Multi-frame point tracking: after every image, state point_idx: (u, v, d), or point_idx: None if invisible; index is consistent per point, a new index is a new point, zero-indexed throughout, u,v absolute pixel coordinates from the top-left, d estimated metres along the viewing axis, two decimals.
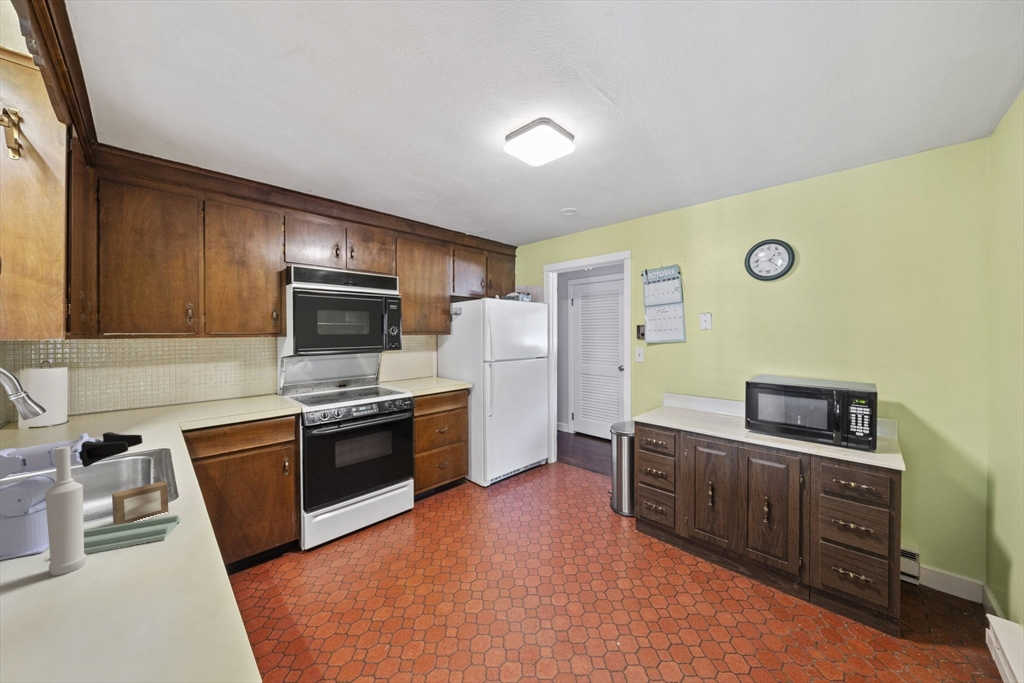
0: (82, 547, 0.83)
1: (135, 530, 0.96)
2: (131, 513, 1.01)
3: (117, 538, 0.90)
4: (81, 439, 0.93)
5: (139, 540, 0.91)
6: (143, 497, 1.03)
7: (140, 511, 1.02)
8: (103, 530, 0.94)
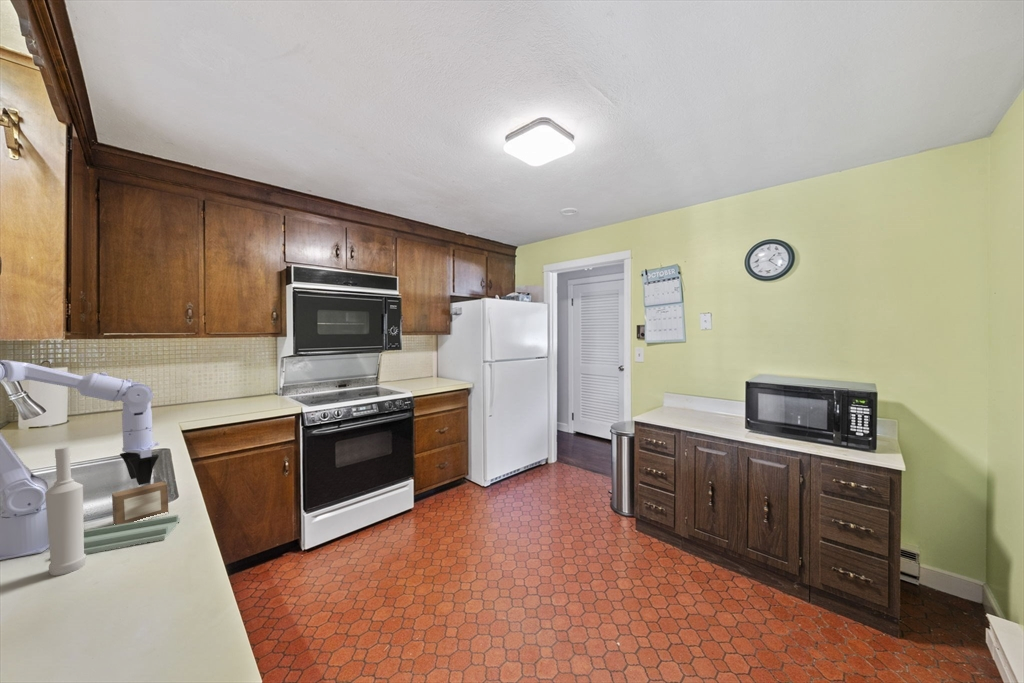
0: (82, 547, 0.83)
1: (135, 530, 0.96)
2: (131, 513, 1.01)
3: (117, 538, 0.90)
4: (154, 445, 1.05)
5: (139, 540, 0.91)
6: (143, 497, 1.03)
7: (140, 511, 1.02)
8: (103, 530, 0.94)
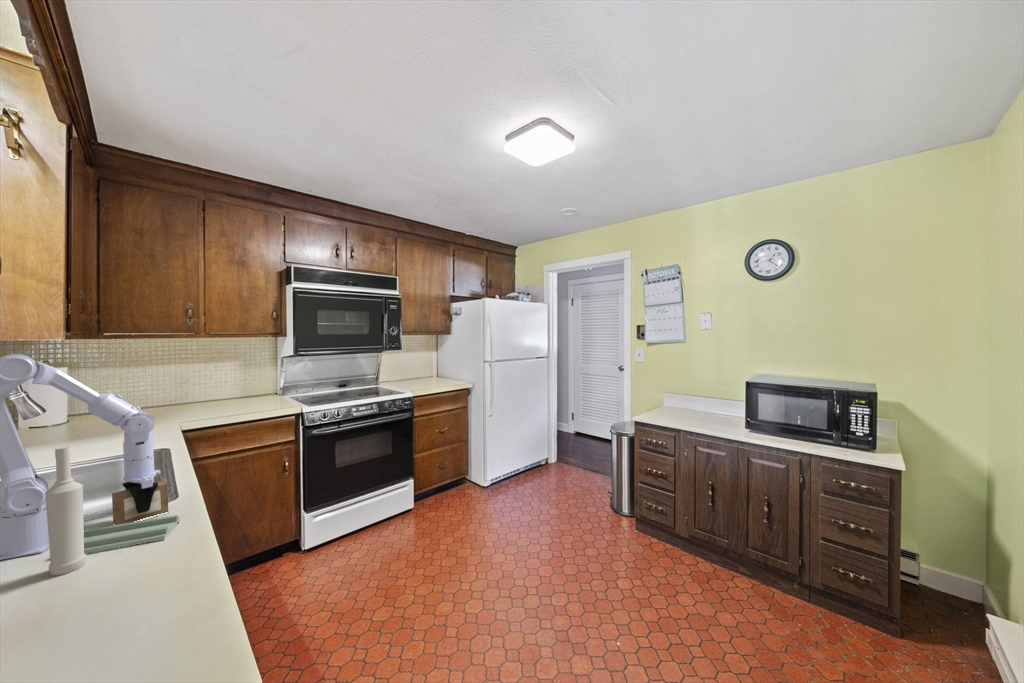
0: (82, 547, 0.83)
1: (135, 530, 0.96)
2: (131, 513, 1.01)
3: (117, 538, 0.90)
4: (155, 473, 1.06)
5: (139, 540, 0.91)
6: None
7: None
8: (103, 530, 0.94)
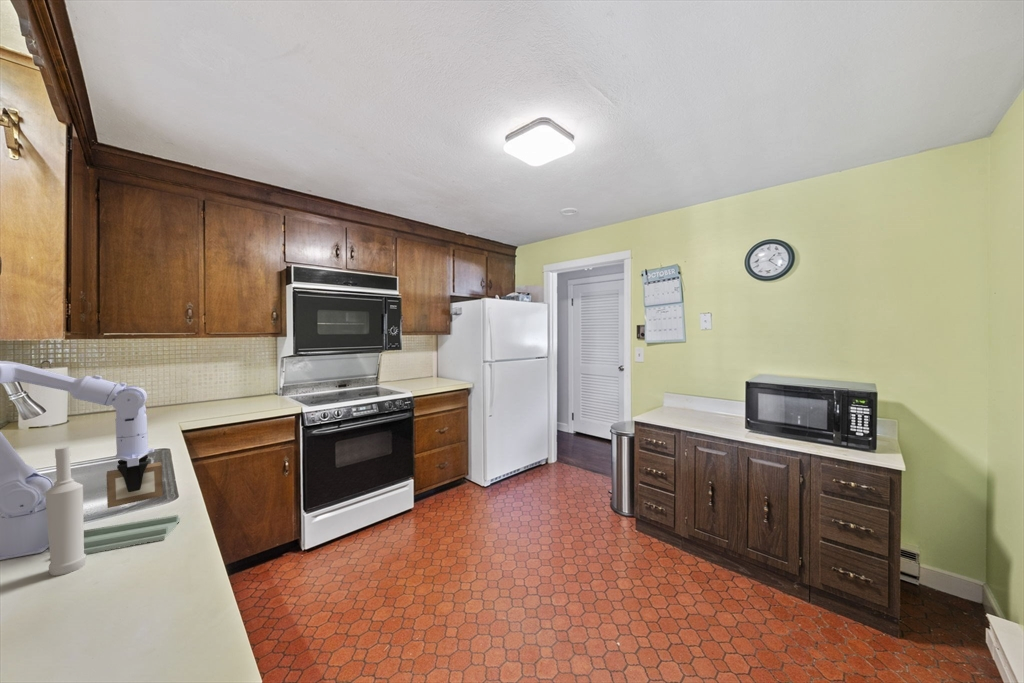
0: (82, 547, 0.83)
1: (135, 530, 0.96)
2: (122, 493, 0.97)
3: (117, 538, 0.90)
4: (148, 452, 1.01)
5: (139, 540, 0.91)
6: None
7: None
8: (103, 530, 0.94)
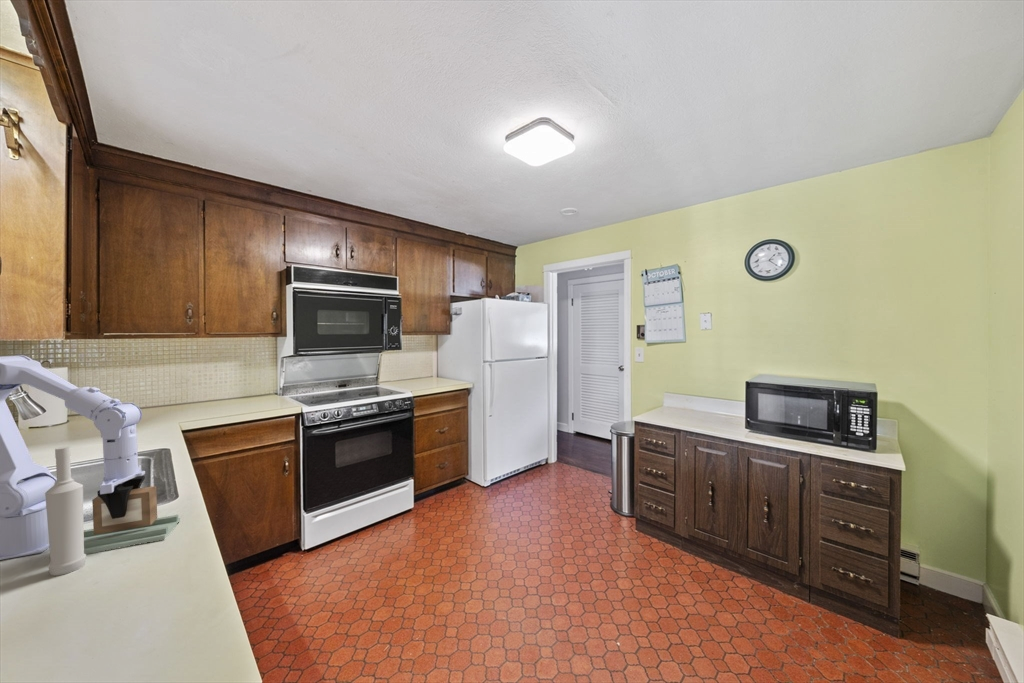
0: (82, 547, 0.83)
1: (135, 530, 0.96)
2: (109, 519, 0.91)
3: (117, 538, 0.90)
4: (135, 475, 0.93)
5: (139, 540, 0.91)
6: None
7: (119, 519, 0.92)
8: None
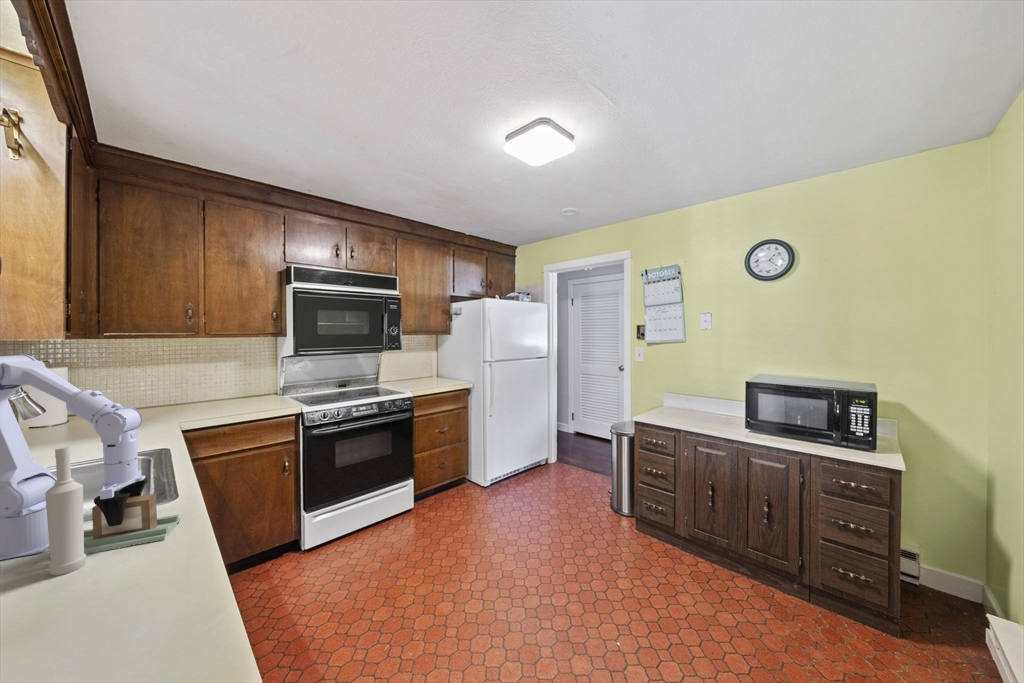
0: (82, 547, 0.83)
1: None
2: (109, 527, 0.91)
3: (117, 538, 0.90)
4: (135, 480, 0.93)
5: (139, 540, 0.91)
6: None
7: (118, 527, 0.92)
8: None
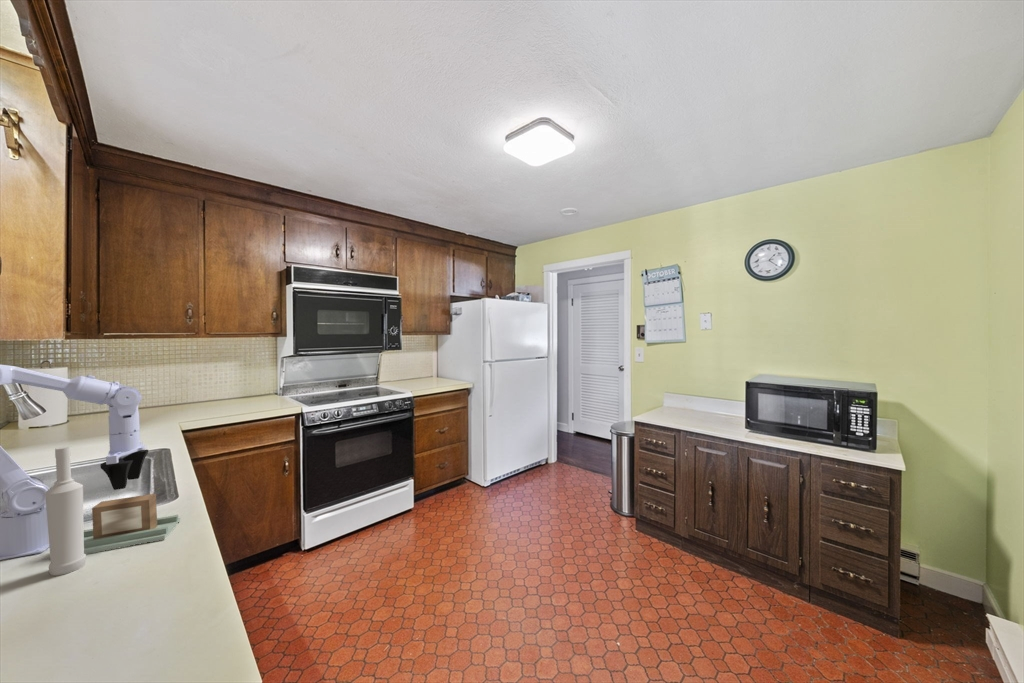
0: (82, 547, 0.83)
1: None
2: (109, 527, 0.91)
3: (117, 538, 0.90)
4: (137, 449, 1.04)
5: (139, 540, 0.91)
6: (122, 511, 0.92)
7: (118, 527, 0.92)
8: None
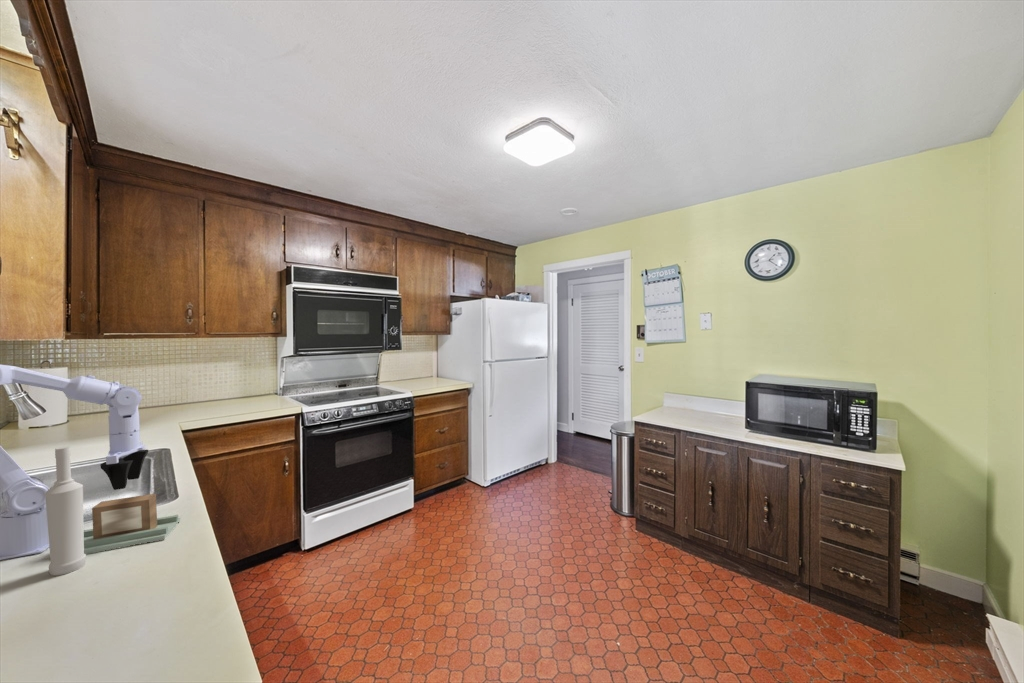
0: (82, 547, 0.83)
1: None
2: (109, 527, 0.91)
3: (117, 538, 0.90)
4: (137, 449, 1.04)
5: (139, 540, 0.91)
6: (122, 511, 0.92)
7: (118, 527, 0.92)
8: None
